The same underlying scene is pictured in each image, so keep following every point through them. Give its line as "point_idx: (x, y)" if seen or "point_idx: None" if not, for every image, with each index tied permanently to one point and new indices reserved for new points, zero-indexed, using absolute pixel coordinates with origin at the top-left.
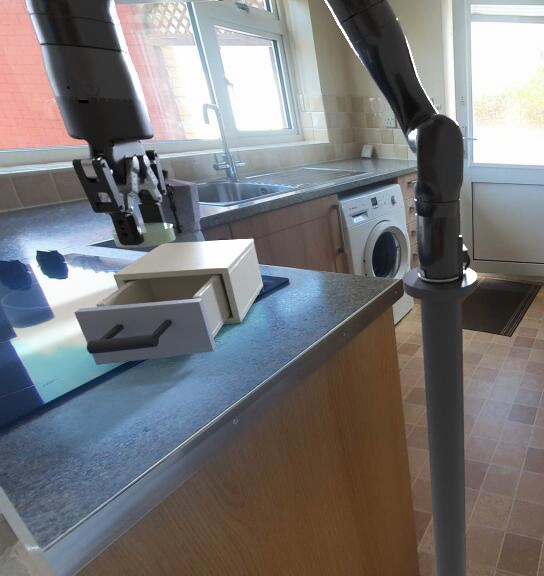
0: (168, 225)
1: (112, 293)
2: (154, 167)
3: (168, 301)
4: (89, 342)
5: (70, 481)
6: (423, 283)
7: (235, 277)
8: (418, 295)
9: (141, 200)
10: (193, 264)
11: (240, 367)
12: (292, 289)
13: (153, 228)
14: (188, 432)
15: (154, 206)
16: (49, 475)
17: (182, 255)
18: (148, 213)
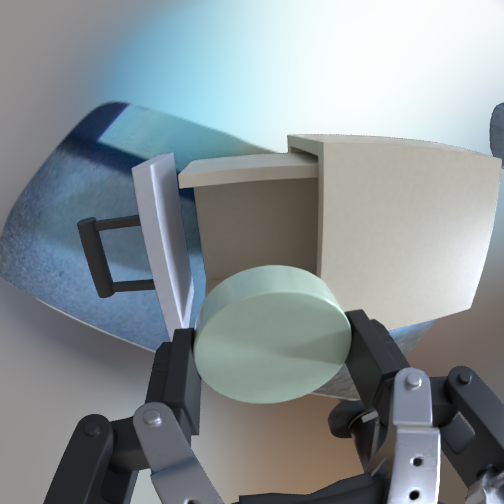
0: (294, 394)
1: (241, 170)
2: (470, 480)
3: (172, 303)
4: (80, 226)
5: (16, 251)
6: (358, 410)
7: None
8: (344, 403)
9: (389, 392)
10: (355, 282)
11: (159, 317)
12: None
13: (262, 382)
14: (62, 307)
15: (366, 399)
16: (17, 232)
17: (425, 231)
18: (363, 365)
